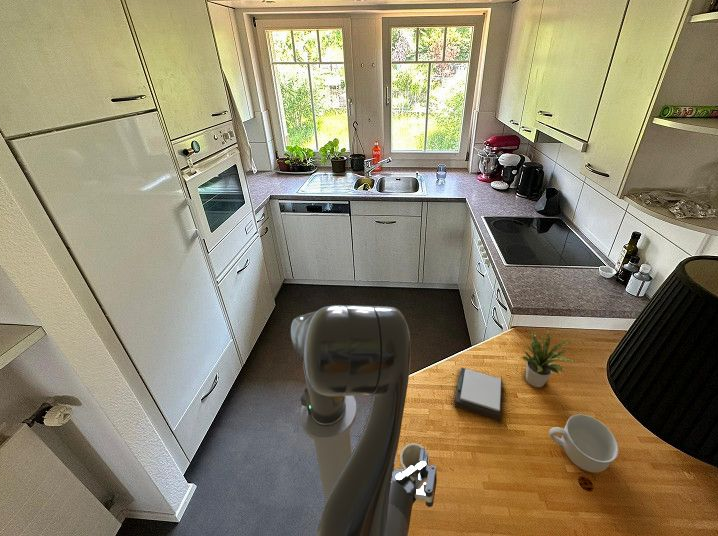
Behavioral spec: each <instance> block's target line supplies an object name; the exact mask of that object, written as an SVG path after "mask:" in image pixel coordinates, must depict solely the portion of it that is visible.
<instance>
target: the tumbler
mask: <svg viewBox="0 0 718 536" xmlns="http://www.w3.org/2000/svg"><path fill="white" fill-rule="evenodd" d="M421 448H425V447H424V446H423V445H421V444H419V443H416V442H410V443H408V444H406V445H404V447H403V448H402V449H401V450H400V454H399V466H398V467H399V468H398V469H403V470H404V471H405V470H406V469H407V468H409V467H410V466H412V465H413V466H415V465H417V464H418V463H419V458H420V451H421ZM425 451H426V452H428V451H427V449H425ZM428 466H430V457H429V455H428ZM410 478H411V477H410ZM426 481H427V478H426V479H425V480H424V481H422V482H421V483H420V484H419V487H418V488H417V489H421V487H422V486H423V483H426Z"/></svg>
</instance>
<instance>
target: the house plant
mask: <svg viewBox="0 0 718 536" xmlns="http://www.w3.org/2000/svg"><path fill="white" fill-rule="evenodd" d="M529 332H530V335H531V338H532V340H531V342H529V345H530V346H531V347H530V346H528V345H527V344H525V343H521V345H522V346H524V347H525V348H527V349H528V350H529V351H530V352H531V354H532V355H533V356H531V354H529V353H528V352H527V351H526V350H525V349H522V352H524V354H525V356H521V357H519V358H520V359H523V361H526V367H525V368H526V369H525V380H526V382H527V383H528V384H529V385H530V386H532V387H534V388H542V387H544V385H545V384H546V383H547V381H548V380H549V378H550V377H551V375H553V374H552V373H556V374H558V375H560V373H559V371H560V372H561V373H563V367H562V366H561V364H558V363H553V362H556V361H560V360H561V361H568V362H570V363H573V364H576V362H575V361H574V360H572V359H571V358H568V357H564V356H561V355H564V354H565V353H566V352H570V350H569V349H564V350H561V351H558V352H557V350H559V349H560V348H562V347H564V346H566V345H567V344H570V343H571V341H563V342H560V343H558V344H556V345H555V346H553V347H552V348H551V350H549V348H550V344H551V335H550V331H549V329H547V330H546V335H545V337H546V338H545V340H544V338H543V336H542V334H541V333H539V336H540V338H541V339H540V338H539V339H537V335H536V333H534V332H532V331H531V330H529ZM541 342H542V343H541ZM548 351H549V352H548Z"/></svg>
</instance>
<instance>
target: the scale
mask: <svg viewBox="0 0 718 536" xmlns="http://www.w3.org/2000/svg"><path fill="white" fill-rule="evenodd" d="M502 393H503V378H501V377H498V376H494V375H490V374H487V373H483V372H479V371H476V370H473V369H469V368H466V367H461V368H460V373H459V379H458V384H457V390H456V395H455V399H454V407H456V408H459V409H462V410H465V411H467V412H472V413H474V414H477V415H481V416H484V417H487V418H490V419H493V420H496V421H500V419H501V414H502V395H503V394H502Z"/></svg>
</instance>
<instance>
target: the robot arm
mask: <svg viewBox="0 0 718 536" xmlns="http://www.w3.org/2000/svg"><path fill="white" fill-rule="evenodd" d="M290 339H291V343H292V346H293V349H294V350H295V352H296V354H297V355H298V356H300V357H301V358H302V359H303V360H302V369H303V373H304V378H305V385H306V387H305V388H304V391H303V394H302V395H301V397H300V404H301V406H302V405H303V406H306V407H307V409H308V414H309V415H311V416H312V419H313V420H314V422H315V423H317V424H318V425H321V426H331V425H334V424H336V423H338V422H339V421H340V420H341V419H342V418H343V416H344V414H345V411H346V403H347V402H346V403H345V399H346V397H345V396H354V397H355V396H368V395H371V402H370V408H369V411H368V417H367V418H366V422H365V424H364V427H363V430H362V433H361V434H360V437H359V439H358V441H357V444H356V445H355V447H354V449H353V451H352V454H351V456H350V458H349V459H348V461H347V463H346V464H345V466H344V468H343V469H342V471H341V473H340V475H339V476H338V478H337V480H336V482H335V483H334V485H333V487H332V489H331V491H330V493H329V495H328V497H327V500H326V502H325V501H324V505H323V508H322V511H321V514H320V519H319V523H318V528H317V536H409V531H410V524H411V518H412V511H413V505H414V503H415V502H416V501H417V500H418V501H423V502H425V505H426V507H427V508H432V507H433V506H434V503H435V494H436V488H437V483H438V479H437V478H438V477H437V475H438V474H437V466H436V465H434V464H431V465H430V464H429V466H428V456H429V453H428V451H427V450H426V448H425V447H424V448H421V451H420V458H419V463H418V464H417V465H415V466H413V465H412V466H410V467H409V468H407V469H406V470H405V471H404V470H403V469H399V468H397V469H395V465H396V460H397V454H398V448H399V443H400V438H401V431H402V425H403V418H404V411H405V407H406V401H407V393H408V386H409V380H410V372H411V371H410V370H411V356H412V350H411V349H412V347H411V345H412V344H411V334H410V329H409V325H408V323H407V320H406V318H405V315H404V314H403V313H402V312H401V310H399V309H398V308H396V307H395V306H387V305H386V306H385V305H348V304H347V305H344V304H343V305H342V304H335V305H334V304H333V305H327V306H323V307H321V308H318V309H317V310H315V311H311V312H308V313H305V314H301V315H297V317H295V318H294V319H293V320H292V322H291V325H290ZM425 450H426V451H427V452H426V451H425ZM410 477H411V478H410ZM426 478H427V481H426V483H423V486H422V487H421V489H417V488H418V487H419V484H420V483H421V482H422V481H424V480H425V479H426Z"/></svg>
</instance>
